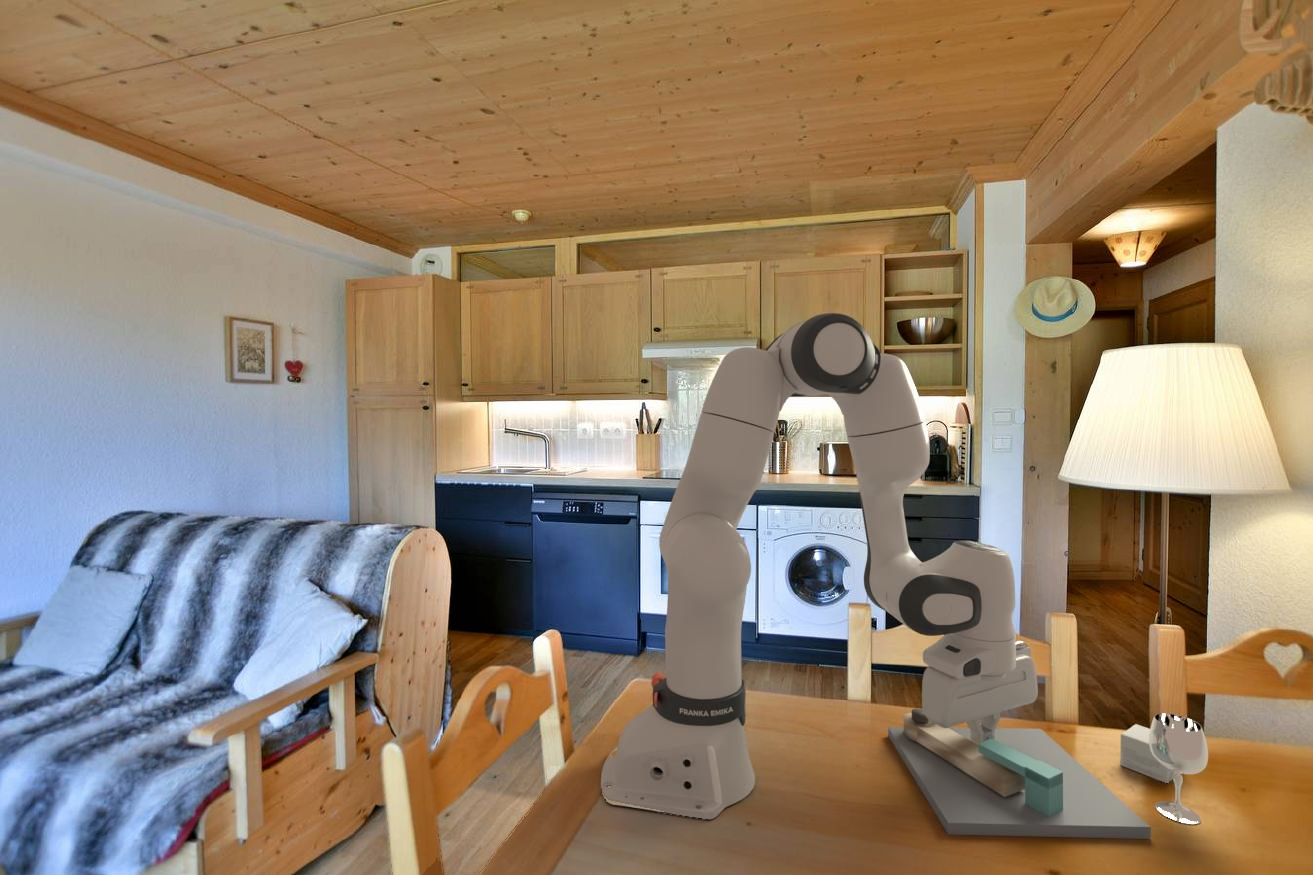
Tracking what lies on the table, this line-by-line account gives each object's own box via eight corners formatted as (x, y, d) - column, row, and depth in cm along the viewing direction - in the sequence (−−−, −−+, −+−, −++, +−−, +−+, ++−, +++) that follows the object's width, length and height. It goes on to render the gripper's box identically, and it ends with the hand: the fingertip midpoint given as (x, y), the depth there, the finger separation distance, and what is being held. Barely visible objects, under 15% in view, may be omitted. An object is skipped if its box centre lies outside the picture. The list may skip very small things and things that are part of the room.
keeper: (978, 776, 83) (978, 742, 83) (992, 770, 84) (992, 736, 84) (1049, 816, 74) (1048, 778, 74) (1063, 809, 75) (1062, 771, 75)
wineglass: (1220, 830, 73) (1220, 735, 73) (1166, 825, 74) (1166, 731, 74) (1188, 801, 79) (1188, 712, 78) (1139, 796, 80) (1138, 709, 80)
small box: (1182, 771, 85) (1182, 738, 85) (1168, 785, 82) (1168, 751, 82) (1134, 753, 90) (1134, 721, 90) (1119, 766, 87) (1119, 733, 87)
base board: (948, 834, 74) (948, 822, 73) (888, 736, 96) (888, 727, 96) (1150, 838, 72) (1150, 826, 72) (1040, 737, 95) (1040, 728, 95)
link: (896, 730, 94) (896, 708, 94) (919, 724, 96) (919, 702, 96) (1002, 797, 77) (1001, 770, 77) (1027, 788, 79) (1027, 761, 79)
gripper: (1010, 632, 95) (1011, 716, 95) (913, 653, 87) (915, 745, 88) (1049, 645, 89) (1049, 735, 89) (949, 670, 81) (950, 768, 82)
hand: (982, 740), depth 88 cm, fingers closed
